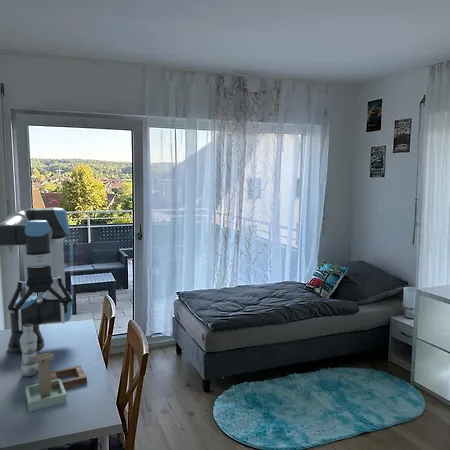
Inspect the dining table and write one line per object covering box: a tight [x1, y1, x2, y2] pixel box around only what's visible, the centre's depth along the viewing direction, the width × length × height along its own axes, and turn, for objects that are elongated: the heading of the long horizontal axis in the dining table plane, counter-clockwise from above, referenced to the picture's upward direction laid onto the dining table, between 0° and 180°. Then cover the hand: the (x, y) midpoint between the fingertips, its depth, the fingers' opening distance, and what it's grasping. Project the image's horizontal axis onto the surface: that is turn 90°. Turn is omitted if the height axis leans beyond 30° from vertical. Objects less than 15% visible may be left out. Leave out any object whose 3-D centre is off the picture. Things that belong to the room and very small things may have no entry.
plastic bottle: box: [20, 324, 39, 377], centre depth 165 cm, size 6×7×20 cm
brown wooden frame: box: [50, 364, 88, 390], centre depth 161 cm, size 12×12×2 cm
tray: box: [24, 378, 68, 413], centre depth 148 cm, size 13×12×3 cm
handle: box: [34, 352, 55, 398], centre depth 147 cm, size 5×6×15 cm
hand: (42, 325), depth 145 cm, fingers open, 13 cm apart
